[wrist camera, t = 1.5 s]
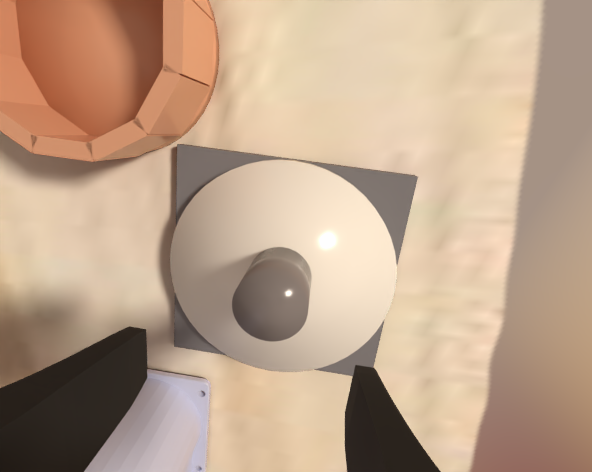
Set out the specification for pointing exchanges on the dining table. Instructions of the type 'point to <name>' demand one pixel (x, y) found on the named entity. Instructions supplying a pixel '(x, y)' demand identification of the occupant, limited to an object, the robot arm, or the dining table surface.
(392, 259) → the lid
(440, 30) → the dining table surface
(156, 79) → the bowl
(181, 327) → the mat
